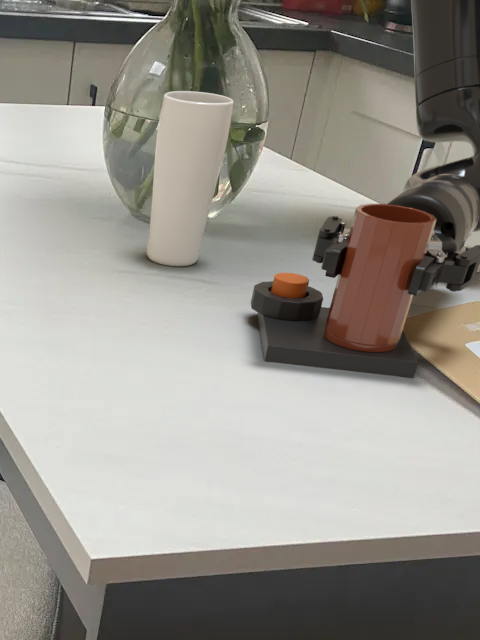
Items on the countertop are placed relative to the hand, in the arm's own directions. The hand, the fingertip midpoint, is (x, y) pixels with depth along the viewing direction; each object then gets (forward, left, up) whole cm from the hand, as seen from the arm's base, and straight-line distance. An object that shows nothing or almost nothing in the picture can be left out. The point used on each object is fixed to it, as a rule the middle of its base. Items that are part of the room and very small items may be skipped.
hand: (373, 272), depth 84 cm
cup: (-1, -2, -6) cm, 6 cm away
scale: (+1, -4, -7) cm, 9 cm away
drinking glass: (+15, -25, -8) cm, 30 cm away
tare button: (+5, -8, -5) cm, 11 cm away
